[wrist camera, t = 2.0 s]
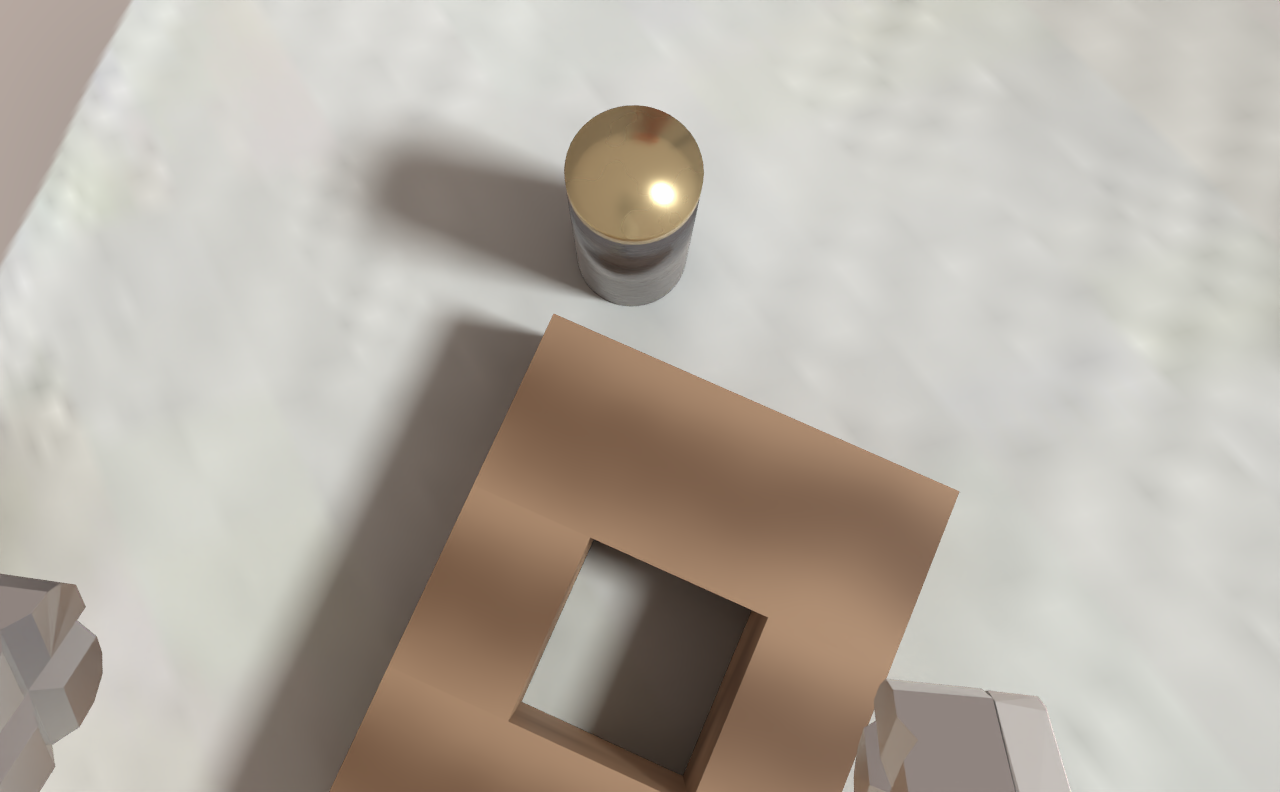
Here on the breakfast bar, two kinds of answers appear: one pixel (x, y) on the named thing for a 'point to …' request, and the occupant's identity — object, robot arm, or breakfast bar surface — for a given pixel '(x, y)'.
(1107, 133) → the breakfast bar surface
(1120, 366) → the breakfast bar surface
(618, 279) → the key peg
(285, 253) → the breakfast bar surface
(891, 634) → the chuck block
